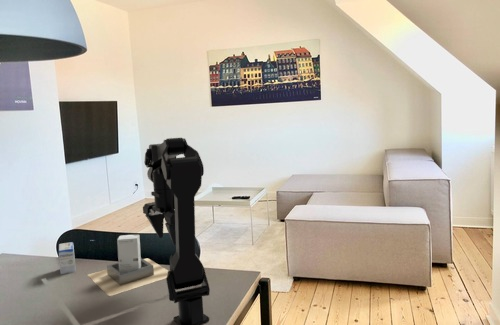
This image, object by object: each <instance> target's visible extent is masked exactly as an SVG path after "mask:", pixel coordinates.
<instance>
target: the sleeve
mask: <svg viewBox="0 0 500 325" xmlns="http://www.w3.org/2000/svg"><path fill="white" fill-rule="evenodd" d="M144 259H145V258H142V257H141V268H139V269H135V270H132V271H128V272H125V273H120V272H119V261H118V262H116V263H110V264H107V265H106V269H107V274H108V276H109V277H111V278H112V279H113V280H114V281H115V282H116V283H118V284H119V285H123V284H127V283H130V282H133V281H136V280H139V279H143V278H146V277H149V276H152V275H154V269H153V265H152V264H150V263H148V262H147V261H145V260H144Z"/></svg>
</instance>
